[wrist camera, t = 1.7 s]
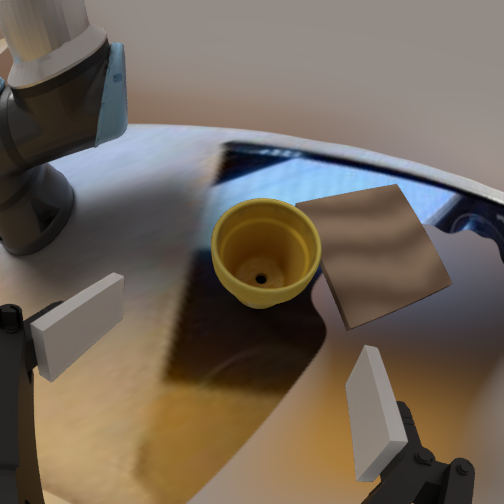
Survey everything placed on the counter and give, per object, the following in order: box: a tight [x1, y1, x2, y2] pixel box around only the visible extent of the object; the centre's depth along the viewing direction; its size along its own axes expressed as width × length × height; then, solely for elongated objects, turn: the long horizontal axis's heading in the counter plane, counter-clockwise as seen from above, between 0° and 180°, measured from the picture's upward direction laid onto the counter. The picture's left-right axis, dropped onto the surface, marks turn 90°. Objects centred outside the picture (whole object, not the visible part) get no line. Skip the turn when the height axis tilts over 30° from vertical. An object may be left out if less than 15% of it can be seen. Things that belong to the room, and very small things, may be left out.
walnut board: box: [295, 184, 452, 331], centre depth 40 cm, size 18×18×1 cm
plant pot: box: [211, 198, 322, 309], centre depth 33 cm, size 10×10×10 cm
